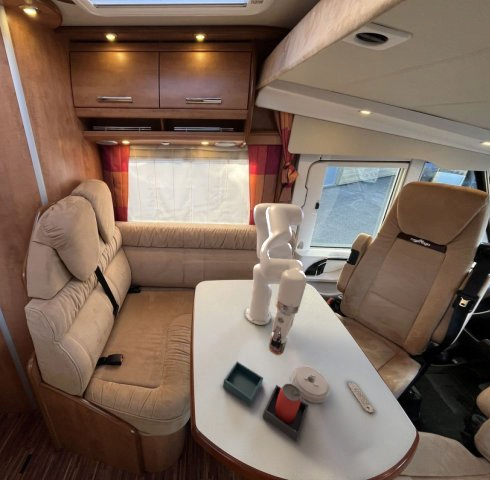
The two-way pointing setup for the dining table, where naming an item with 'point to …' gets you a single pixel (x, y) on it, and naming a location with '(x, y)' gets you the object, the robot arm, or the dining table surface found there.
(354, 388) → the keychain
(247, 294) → the dining table surface
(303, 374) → the lid
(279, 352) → the pill bottle
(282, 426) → the can bin
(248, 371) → the pill bin
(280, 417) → the beer can
